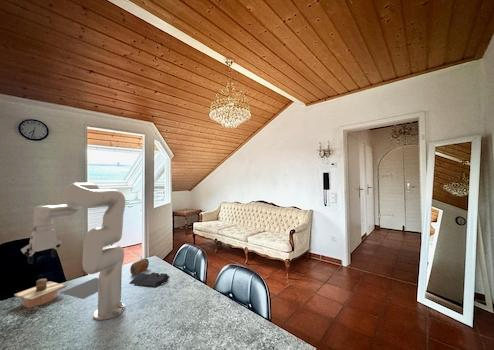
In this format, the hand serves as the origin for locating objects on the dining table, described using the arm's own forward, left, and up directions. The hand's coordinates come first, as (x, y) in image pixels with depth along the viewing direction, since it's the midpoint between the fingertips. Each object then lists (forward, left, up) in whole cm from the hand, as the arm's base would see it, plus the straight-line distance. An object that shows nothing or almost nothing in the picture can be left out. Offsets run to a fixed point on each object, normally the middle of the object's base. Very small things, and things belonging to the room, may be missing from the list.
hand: (42, 260), depth 113 cm
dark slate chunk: (-38, -37, -22) cm, 58 cm away
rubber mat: (-11, -18, -22) cm, 30 cm away
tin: (-21, -45, -22) cm, 54 cm away
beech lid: (0, 0, -17) cm, 17 cm away
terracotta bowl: (0, 0, -22) cm, 22 cm away
